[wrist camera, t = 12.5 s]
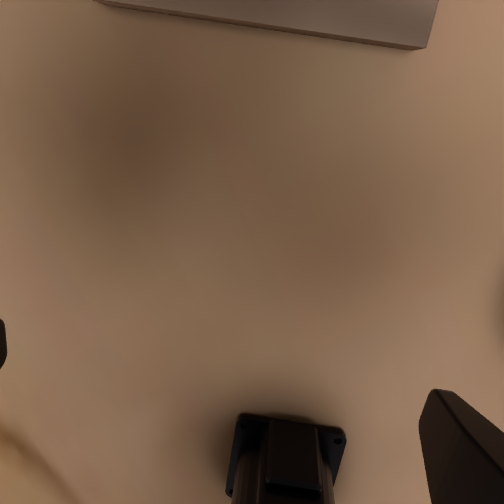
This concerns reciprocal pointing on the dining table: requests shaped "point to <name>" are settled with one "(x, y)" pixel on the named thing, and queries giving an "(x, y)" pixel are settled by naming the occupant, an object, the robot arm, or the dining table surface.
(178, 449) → the dining table surface
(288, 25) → the brown wooden tray
